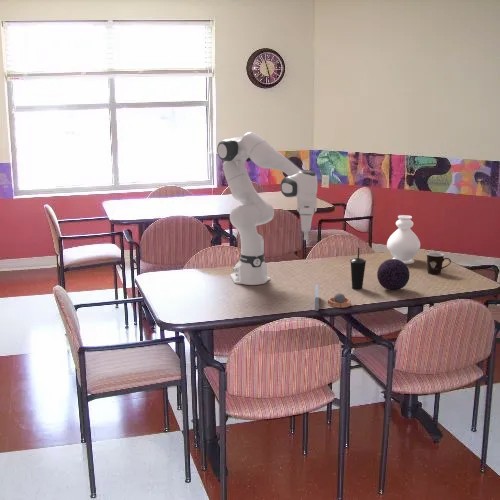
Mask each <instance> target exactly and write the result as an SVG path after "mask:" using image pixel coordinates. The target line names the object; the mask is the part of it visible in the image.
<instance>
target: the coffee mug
mask: <svg viewBox="0 0 500 500" xmlns="http://www.w3.org/2000/svg"><path fill="white" fill-rule="evenodd" d="M444 257H445V254H444V253H442V252H434V251H431V252H430V251H429V252H428V253H426V262H427V263H426V265H427V273H428V274H429V275H433V276H435V275H436V276H437V275H441V273H442V270H443V269H445V268H447V267H448V266H450V264H451V263H452V260H451V259H450V258H449V257H445V258H444ZM445 260H448V261H449V263H448V264H447V265H444V266H443V262H444V261H445Z"/></svg>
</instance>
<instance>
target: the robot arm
mask: <svg viewBox="0 0 500 500" xmlns="http://www.w3.org/2000/svg"><path fill="white" fill-rule="evenodd" d="M216 152H217V157H218V158H219V159H220V160H221V161H224V162H223V164H222V168H223V173H224V178H225V181H226V182H227V185H228V188H229V190H230V193H231V196H232V198H234V199H235V200H237V201H239V202H240V203H241V204H242V205H239V206H236V207H235V208H233V209H232V210H231V211H230V214H229V221H230V223H231V225H232V226H233V227H234V228H235V229H236V230H237V232H238V233H239V237H240V247H241V249H240V252H239V254H240V255H239V261H238V262H237V263H236V264H235V265H234V267H233V268H232V273H230V275H229V276H230V279H231V280H232V281H233V283H234V284H237V285H244V286H245V285H247V286H256V285H264V284H266V283H268V281H270V280H271V277H270V276H268V264H267V263H266V261H265V258H266V257H265V253H264V249H265V248H264V247H265V246H264V243H265V242H264V237H263V236H262V235H261V234H259V232H258V229H257V226H260V225H265V224H267V223H270V222H271V221H272V220H273V219H274V217H275V209H274V207H273V205H272V204H271V203H270V202H267V201H266V200H265V199H263V198H262V197H261V196H260V194H259V193H258V192H257V191H256V189H255V187H254V185H253V183H252V180H251V178H250V175H249V173H248V171H247V169H246V162H251V161H252V162H253V163H254V164H255V165H256V166H258V167H259V168H262V169H270V170H272V169H273V170H278V171H280V172H283V173H284V174H286V176H285V177H284V178H282V180H281V181H280V185H279V187H280V192H281V193H282V195H283V196H284V197H286V198H296V202H297V203H296V211H297V212H298V214H299V215H300V217H299V218H300V225H301V226H300V228H301V232H303V241H308V240H309V232H311V228H312V221H313V217H314V215H315V213H316V212H317V209H318V199H317V193H318V184H319V183H318V176H317V174H316V172H314V171H313V170H310V169H302V168H301V167H299V165H297V164H296V163H295V162H293V161H292V160H291V159H290V158H289V157H287V156H286V155H285V154H283V153H281V152H280V151H278V150H276V149H275V148H274V147H273V146H271V144H270V143H269V142H268V141H267V140H266V139H264V138H263V137H262V136H261V135H259V134H258V133H257V132H254V131H248V132H246V133H245V134H244V135H242V136H235V137H232V138H225V139H223V140H221V141H220V142H218V145H217V148H216Z"/></svg>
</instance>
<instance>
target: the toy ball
mask: <svg viewBox="0 0 500 500" xmlns="http://www.w3.org/2000/svg"><path fill="white" fill-rule="evenodd" d="M376 276H377V277H376V278H377V281H378V283H379V284H380V286H382V287H383V288H384V289H385V290H387V291H393V292H395V291H399V290H401V289H403V288H405V287H406V285H407V284H408V282H409V280H410V270H409V267H408V266H407V264H405V263H403V262H402V261H400V260H398V259H392V258H389V259H386V260H384V261H383V262H382V263H381V264H380V265H379V267H378V268H377V272H376Z"/></svg>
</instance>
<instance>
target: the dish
mask: <svg viewBox="0 0 500 500" xmlns="http://www.w3.org/2000/svg"><path fill="white" fill-rule="evenodd" d="M351 303H352V300H351V299H350V298H348V297H346V296H345V302H343V303H337V302H335V301H334V296H332V297H329V298H328V299H327V305H328V306H330V307H332V308H338V309H339V308H341V309H342V308H349V307H350V306H351Z"/></svg>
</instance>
